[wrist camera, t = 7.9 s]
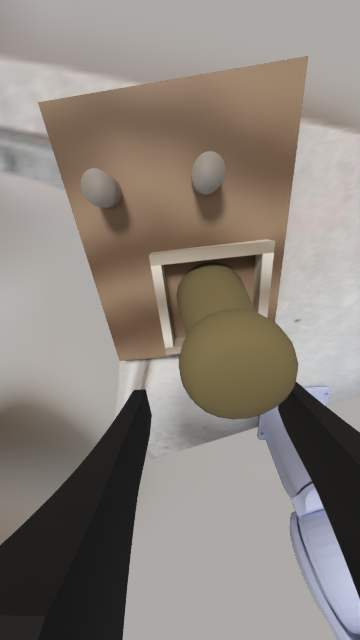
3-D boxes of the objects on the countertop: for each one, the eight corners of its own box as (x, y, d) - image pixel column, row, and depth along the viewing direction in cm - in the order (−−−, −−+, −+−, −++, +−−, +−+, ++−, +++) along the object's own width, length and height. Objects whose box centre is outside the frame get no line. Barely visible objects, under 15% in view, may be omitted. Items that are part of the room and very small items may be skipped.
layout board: (266, 342, 21) (280, 361, 18) (122, 353, 22) (113, 373, 19) (296, 71, 12) (333, 23, 9) (50, 112, 13) (12, 81, 10)
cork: (237, 327, 19) (297, 442, 9) (175, 324, 19) (166, 437, 9) (250, 263, 16) (357, 329, 6) (177, 260, 16) (168, 321, 6)
